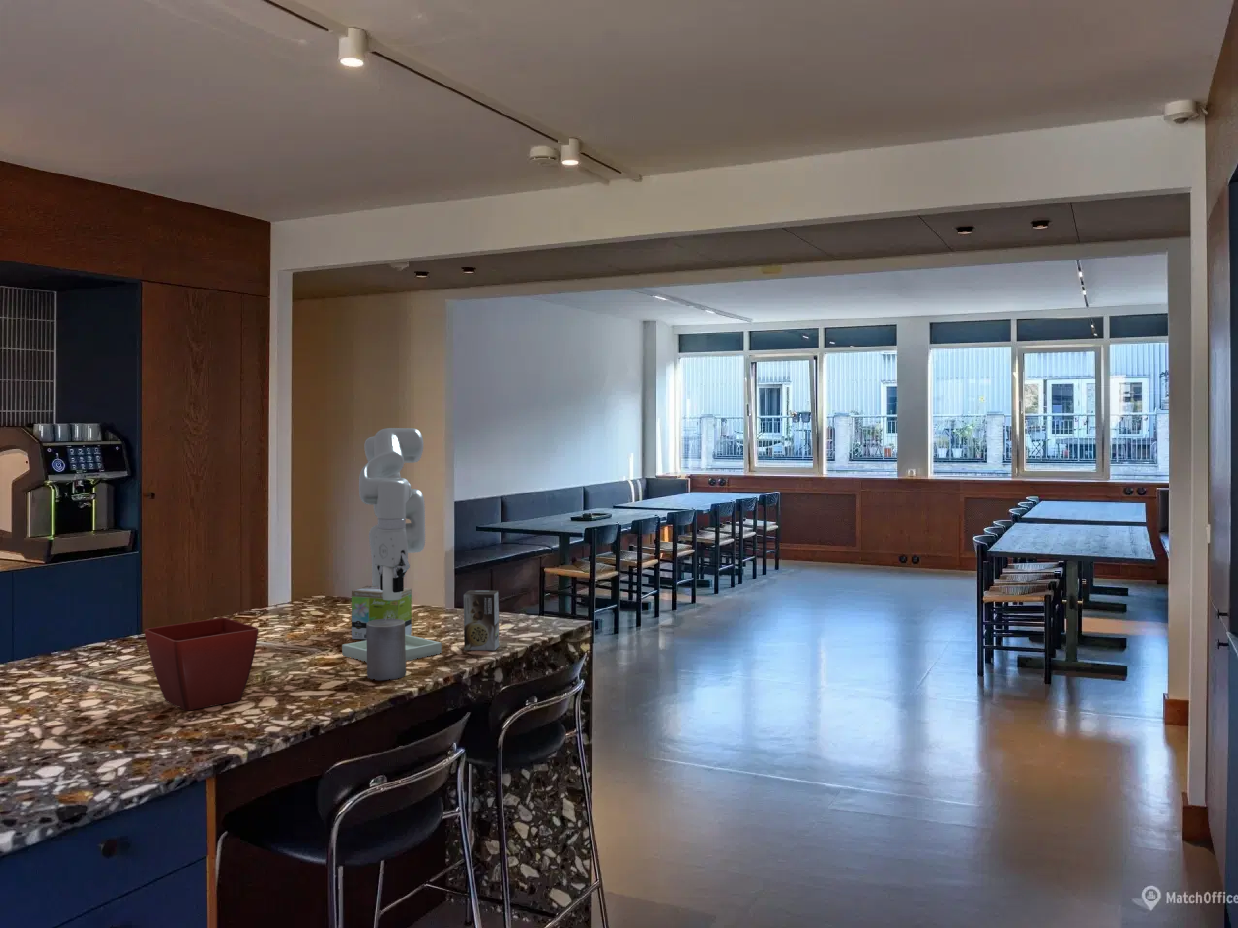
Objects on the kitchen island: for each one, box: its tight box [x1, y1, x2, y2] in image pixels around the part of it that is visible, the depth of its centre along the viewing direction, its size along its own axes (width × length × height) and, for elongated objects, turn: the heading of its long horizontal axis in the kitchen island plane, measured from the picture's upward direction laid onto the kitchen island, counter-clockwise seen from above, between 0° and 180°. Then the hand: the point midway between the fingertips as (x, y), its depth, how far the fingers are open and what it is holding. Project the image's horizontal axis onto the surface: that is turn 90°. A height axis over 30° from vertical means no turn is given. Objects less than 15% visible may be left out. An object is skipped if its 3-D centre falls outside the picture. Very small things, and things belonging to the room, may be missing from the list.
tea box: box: [351, 585, 413, 641], centre depth 300 cm, size 15×10×15 cm, turn 76°
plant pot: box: [144, 617, 259, 711], centre depth 232 cm, size 19×19×17 cm
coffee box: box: [463, 589, 500, 651], centre depth 288 cm, size 9×6×16 cm
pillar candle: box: [366, 617, 407, 681], centre depth 256 cm, size 10×10×15 cm
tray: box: [341, 634, 443, 663], centre depth 279 cm, size 18×20×3 cm
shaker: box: [383, 564, 401, 600], centre depth 278 cm, size 5×5×12 cm
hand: (391, 590), depth 278 cm, fingers closed on shaker, 5 cm apart
